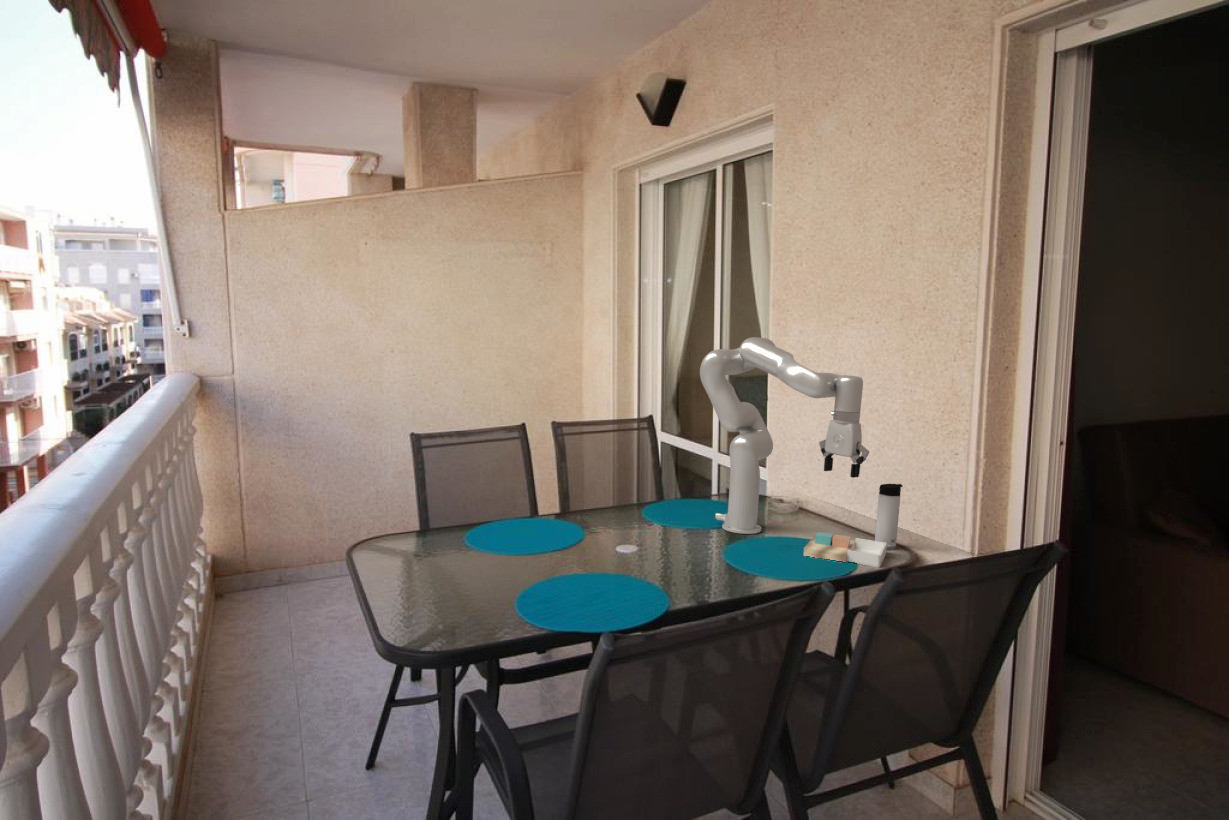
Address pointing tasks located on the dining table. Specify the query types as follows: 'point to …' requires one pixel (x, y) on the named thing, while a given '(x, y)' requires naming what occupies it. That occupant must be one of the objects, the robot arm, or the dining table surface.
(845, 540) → the tile terracotta
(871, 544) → the tray
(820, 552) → the board
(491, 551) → the dining table surface
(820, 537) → the tile teal
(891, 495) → the travel mug
